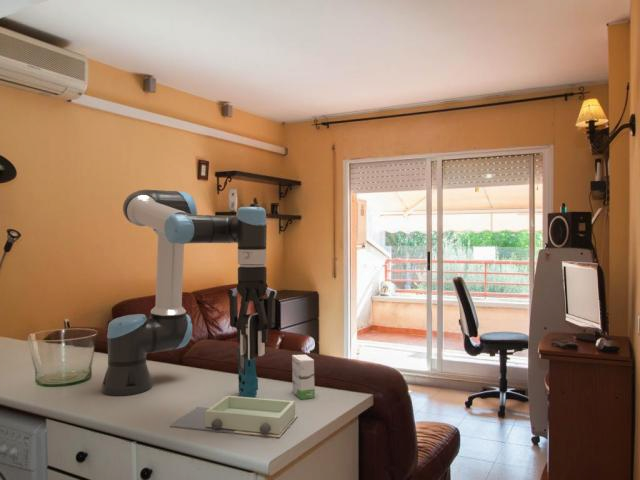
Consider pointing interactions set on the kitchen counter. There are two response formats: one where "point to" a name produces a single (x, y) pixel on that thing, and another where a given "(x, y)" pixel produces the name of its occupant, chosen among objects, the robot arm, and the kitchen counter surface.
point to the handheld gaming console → (247, 377)
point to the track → (197, 422)
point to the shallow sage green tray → (250, 414)
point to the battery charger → (250, 334)
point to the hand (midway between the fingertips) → (252, 354)
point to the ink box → (303, 376)
